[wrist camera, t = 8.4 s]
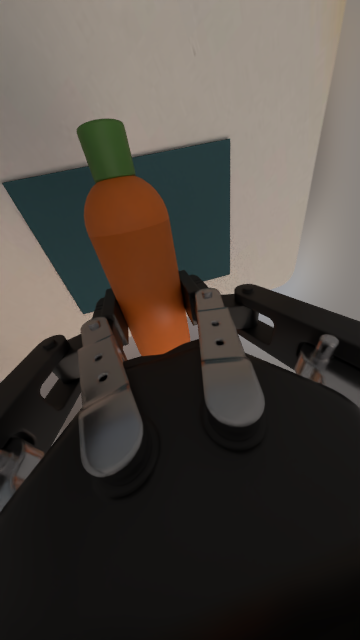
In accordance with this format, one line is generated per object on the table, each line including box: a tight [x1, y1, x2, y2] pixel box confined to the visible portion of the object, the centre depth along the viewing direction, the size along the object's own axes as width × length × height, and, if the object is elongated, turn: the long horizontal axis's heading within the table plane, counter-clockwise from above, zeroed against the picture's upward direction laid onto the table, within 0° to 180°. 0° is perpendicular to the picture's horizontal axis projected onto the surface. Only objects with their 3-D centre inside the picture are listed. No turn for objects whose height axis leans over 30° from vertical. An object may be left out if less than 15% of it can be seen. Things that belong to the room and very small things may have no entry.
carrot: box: [77, 119, 190, 356], centre depth 12 cm, size 17×4×4 cm, turn 10°
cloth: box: [2, 139, 230, 314], centre depth 23 cm, size 16×24×1 cm, turn 100°
